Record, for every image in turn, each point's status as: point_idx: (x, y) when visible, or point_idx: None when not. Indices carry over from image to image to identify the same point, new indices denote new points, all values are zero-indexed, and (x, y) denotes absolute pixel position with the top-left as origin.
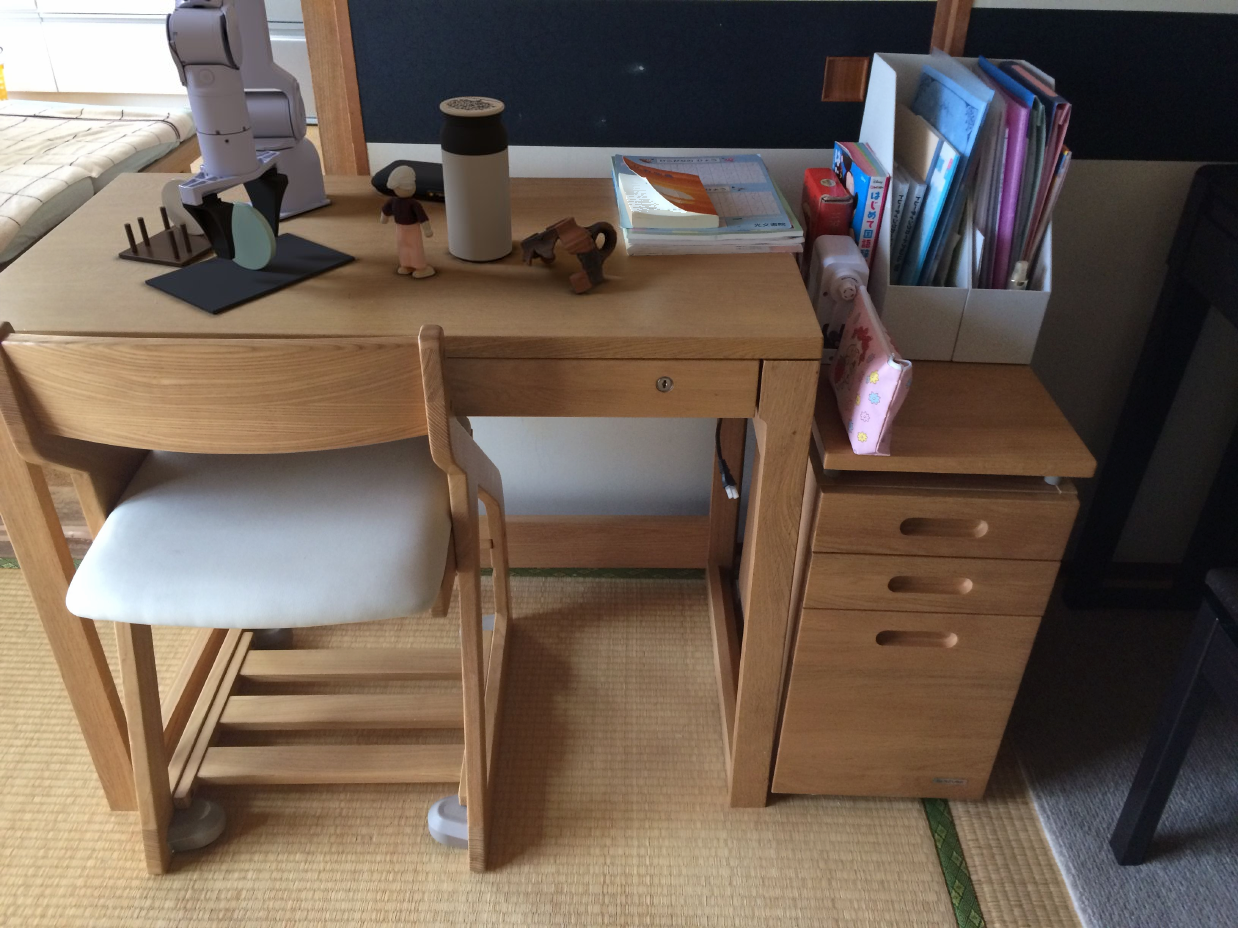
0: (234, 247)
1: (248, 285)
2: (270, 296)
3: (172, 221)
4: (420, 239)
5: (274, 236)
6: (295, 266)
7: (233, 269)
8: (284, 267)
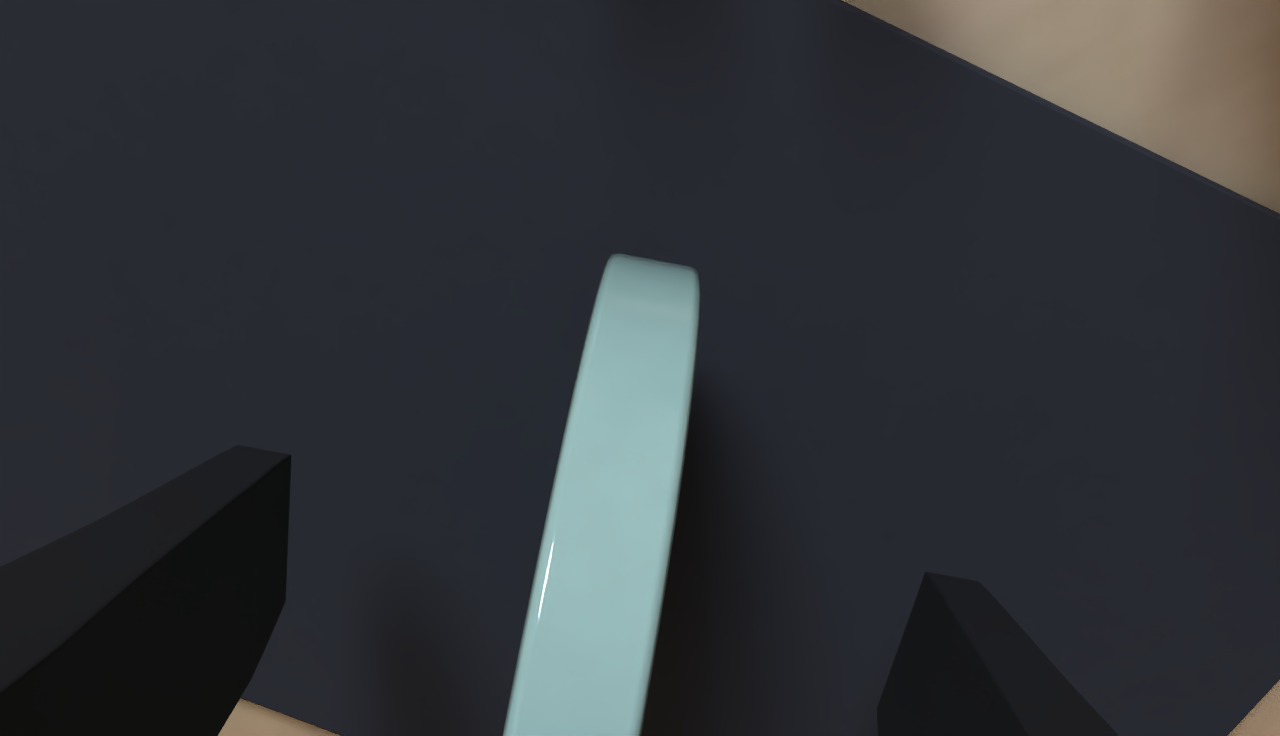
0: (233, 703)
1: (300, 573)
2: (264, 722)
3: None
4: None
5: (878, 718)
6: (736, 726)
7: (541, 323)
8: (698, 666)
